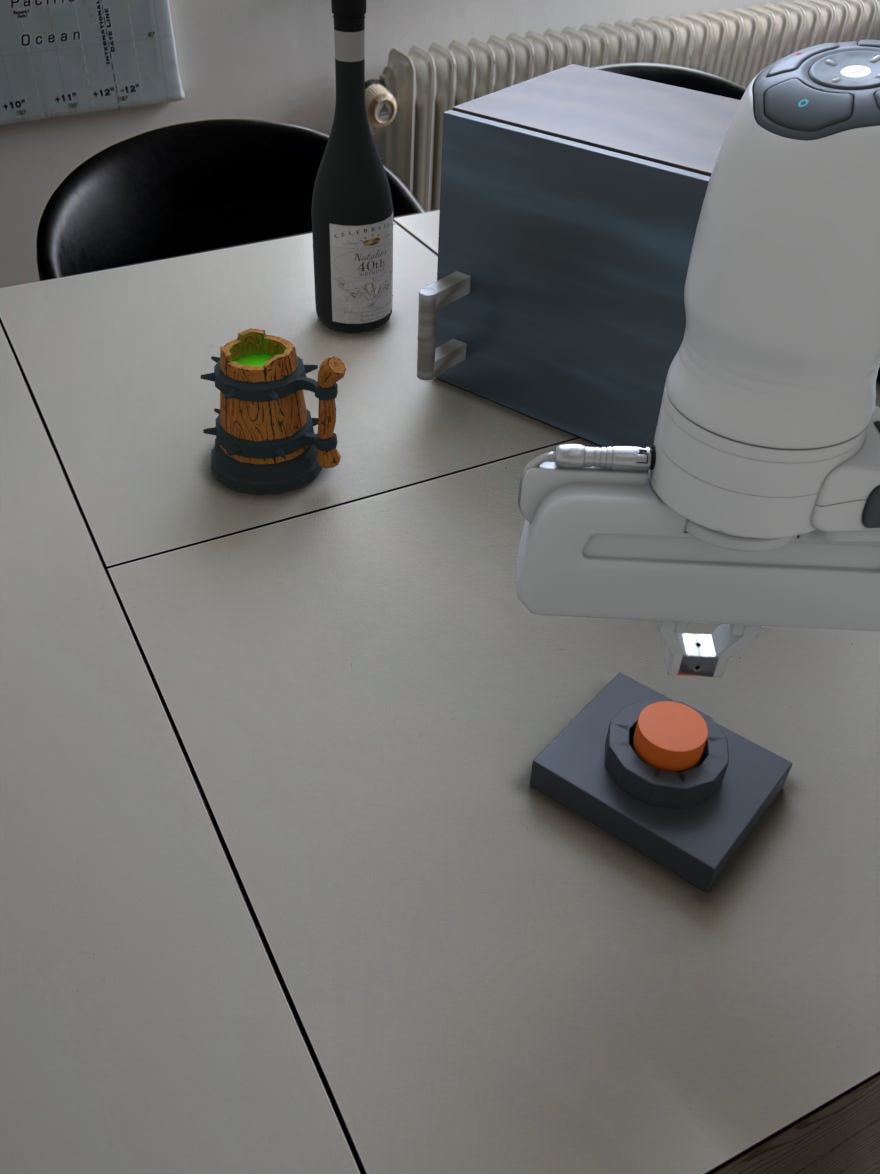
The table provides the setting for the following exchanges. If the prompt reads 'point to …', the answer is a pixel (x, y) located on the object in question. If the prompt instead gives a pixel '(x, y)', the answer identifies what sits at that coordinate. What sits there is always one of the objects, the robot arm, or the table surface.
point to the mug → (271, 415)
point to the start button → (670, 736)
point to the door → (558, 278)
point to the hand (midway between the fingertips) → (692, 668)
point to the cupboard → (615, 115)
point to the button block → (660, 784)
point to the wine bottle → (352, 197)
